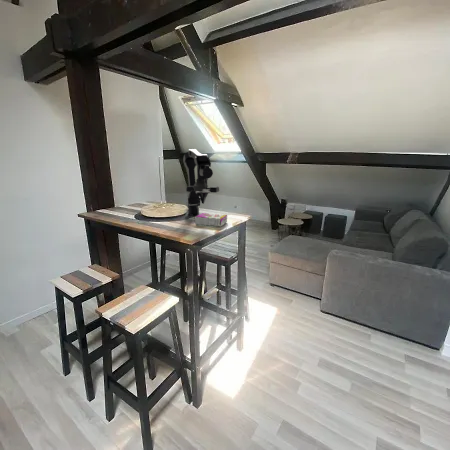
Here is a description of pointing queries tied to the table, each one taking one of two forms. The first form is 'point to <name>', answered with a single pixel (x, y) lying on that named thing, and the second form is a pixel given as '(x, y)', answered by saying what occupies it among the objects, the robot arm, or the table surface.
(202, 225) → the mat
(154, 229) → the table surface
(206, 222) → the candy bar box
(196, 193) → the robot arm
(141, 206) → the table surface
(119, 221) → the table surface
